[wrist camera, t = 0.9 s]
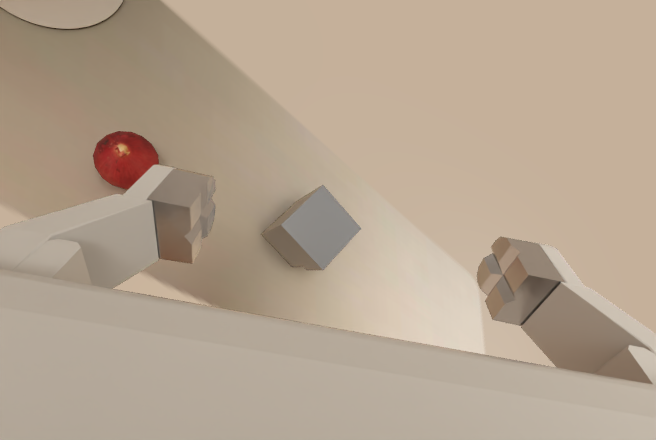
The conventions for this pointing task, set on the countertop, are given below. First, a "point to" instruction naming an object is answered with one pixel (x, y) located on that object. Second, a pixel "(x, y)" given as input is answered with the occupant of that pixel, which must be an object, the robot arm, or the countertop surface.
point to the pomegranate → (124, 158)
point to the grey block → (312, 231)
